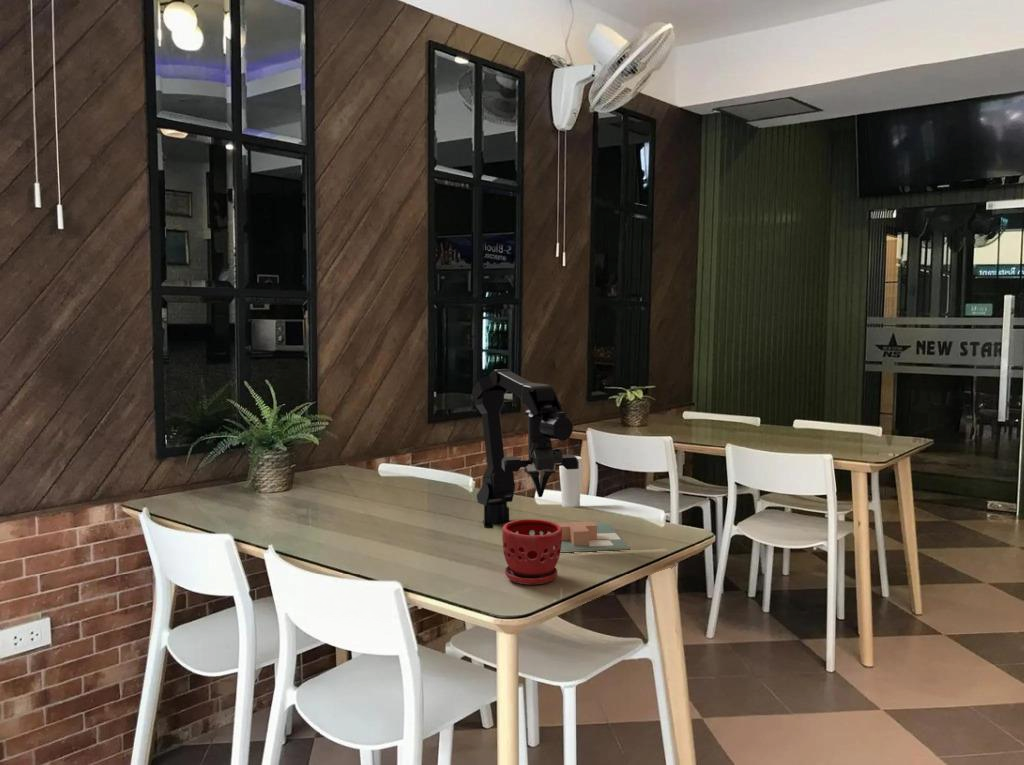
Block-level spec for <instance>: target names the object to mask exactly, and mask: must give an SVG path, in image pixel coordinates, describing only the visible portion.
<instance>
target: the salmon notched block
mask: <svg viewBox="0 0 1024 765" xmlns="http://www.w3.org/2000/svg"><path fill="white" fill-rule="evenodd" d="M555 523H556V524H558V525H559V526H561V528H562V540H570V541H571V543H572V544H573V546H580V545H590V539H597V525H596V524H595V523H596V522H595V521H574V522H572V521H571V522H569V521H568V522H555Z"/></svg>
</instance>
